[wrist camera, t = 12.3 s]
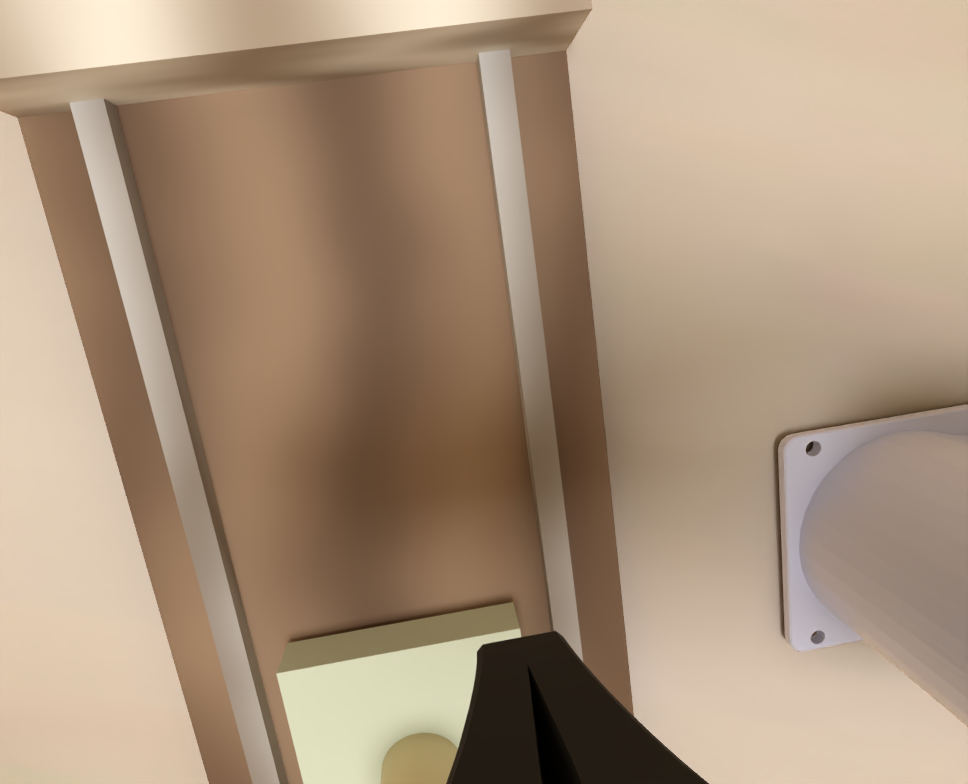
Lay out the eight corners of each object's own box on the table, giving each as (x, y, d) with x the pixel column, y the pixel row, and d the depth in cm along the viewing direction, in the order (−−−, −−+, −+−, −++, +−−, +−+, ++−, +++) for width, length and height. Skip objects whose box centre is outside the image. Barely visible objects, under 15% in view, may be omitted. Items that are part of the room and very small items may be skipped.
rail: (540, -100, 16) (575, -212, 12) (641, 860, 22) (682, 974, 19) (-4, -42, 15) (-144, -144, 11) (270, 939, 21) (238, 1075, 18)
